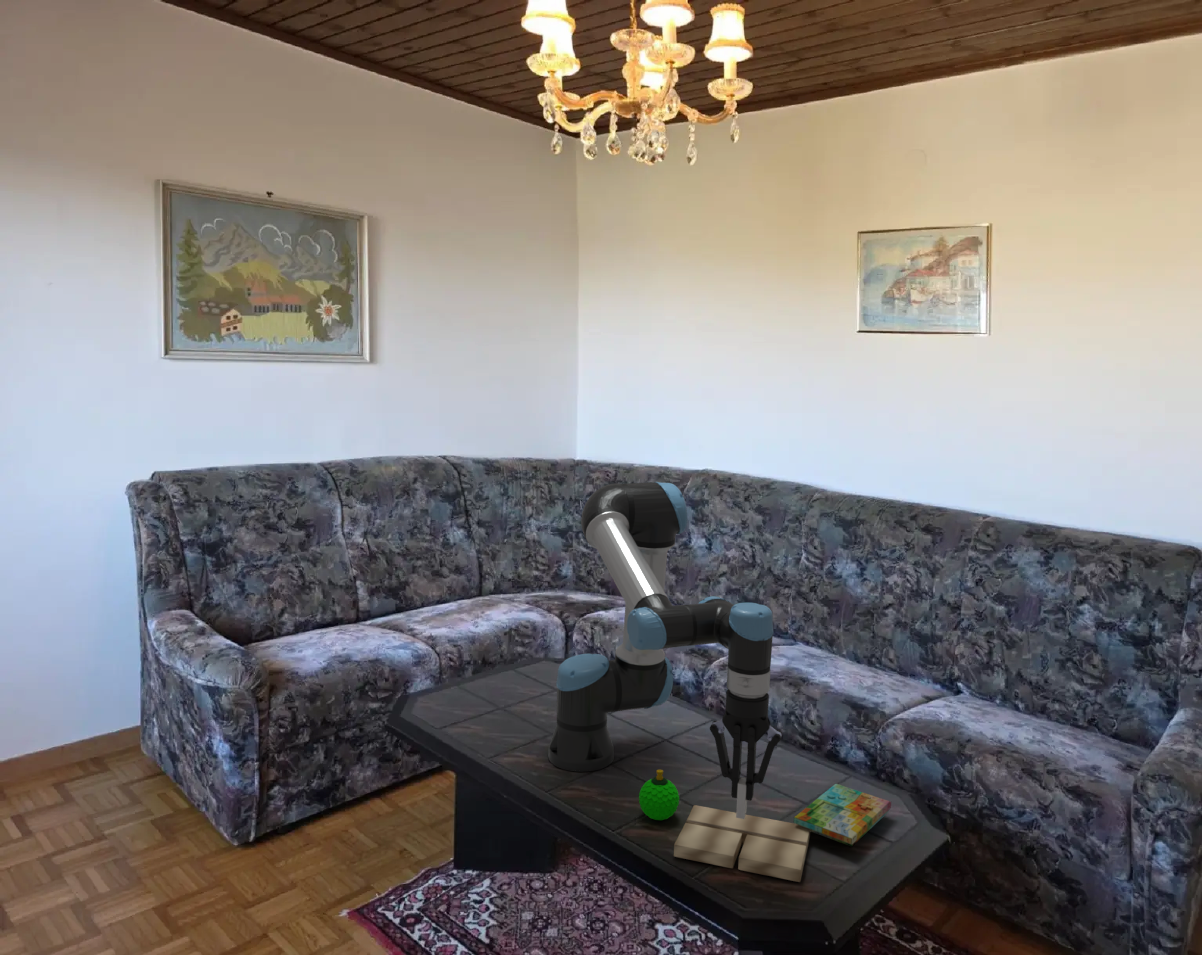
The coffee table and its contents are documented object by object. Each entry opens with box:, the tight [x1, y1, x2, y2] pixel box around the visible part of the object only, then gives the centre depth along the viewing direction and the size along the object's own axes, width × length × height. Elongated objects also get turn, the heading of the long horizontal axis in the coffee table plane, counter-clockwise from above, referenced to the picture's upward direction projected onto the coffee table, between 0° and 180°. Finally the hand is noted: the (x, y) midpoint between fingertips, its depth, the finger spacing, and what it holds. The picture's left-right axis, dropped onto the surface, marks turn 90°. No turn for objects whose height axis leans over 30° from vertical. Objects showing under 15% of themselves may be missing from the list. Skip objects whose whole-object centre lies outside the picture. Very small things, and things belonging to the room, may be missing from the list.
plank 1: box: [673, 822, 742, 869], centre depth 166 cm, size 11×9×2 cm
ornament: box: [638, 769, 680, 821], centre depth 177 cm, size 8×8×10 cm
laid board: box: [685, 804, 811, 854], centre depth 172 cm, size 23×7×2 cm, turn 71°
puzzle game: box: [792, 783, 892, 847], centre depth 175 cm, size 12×5×20 cm
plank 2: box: [737, 835, 807, 883], centre depth 162 cm, size 11×9×2 cm
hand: (741, 814), depth 161 cm, fingers closed
